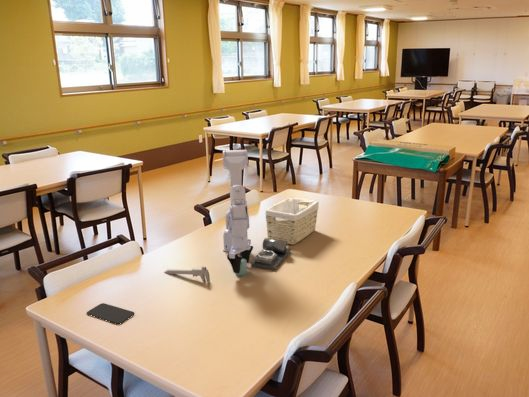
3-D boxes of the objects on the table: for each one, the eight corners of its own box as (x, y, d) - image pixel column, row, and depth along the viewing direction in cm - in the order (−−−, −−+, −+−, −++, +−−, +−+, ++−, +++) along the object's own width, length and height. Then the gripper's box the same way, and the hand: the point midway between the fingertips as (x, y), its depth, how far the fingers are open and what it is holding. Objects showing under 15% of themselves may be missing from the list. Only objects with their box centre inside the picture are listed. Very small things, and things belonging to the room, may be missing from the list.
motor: (248, 265, 177) (248, 250, 175) (266, 248, 192) (266, 234, 191) (275, 270, 172) (275, 255, 170) (291, 252, 188) (291, 238, 186)
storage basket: (289, 224, 221) (289, 195, 217) (319, 230, 213) (320, 200, 208) (264, 240, 202) (263, 209, 197) (296, 247, 193) (296, 215, 189)
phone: (102, 302, 151) (136, 312, 144) (102, 304, 151) (136, 314, 145) (84, 313, 145) (119, 323, 138) (85, 315, 145) (119, 326, 138)
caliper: (210, 282, 165) (209, 267, 163) (208, 283, 164) (207, 268, 162) (165, 272, 174) (164, 257, 172) (164, 273, 173) (162, 258, 171)
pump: (233, 275, 169) (232, 261, 168) (238, 270, 173) (238, 257, 172) (248, 277, 167) (247, 264, 165) (253, 272, 171) (252, 259, 169)
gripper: (240, 243, 158) (242, 278, 162) (257, 229, 171) (258, 262, 175) (223, 240, 161) (224, 275, 165) (240, 227, 173) (242, 259, 177)
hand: (241, 268), depth 170 cm, fingers open, 7 cm apart
